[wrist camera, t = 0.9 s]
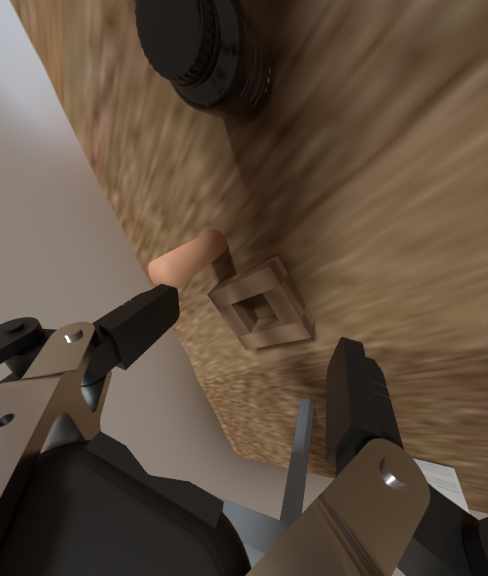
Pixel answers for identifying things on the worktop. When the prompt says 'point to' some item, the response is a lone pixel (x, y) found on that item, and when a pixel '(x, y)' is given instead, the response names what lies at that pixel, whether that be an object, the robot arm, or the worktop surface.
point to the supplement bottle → (208, 54)
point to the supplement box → (443, 481)
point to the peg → (187, 259)
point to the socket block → (280, 295)
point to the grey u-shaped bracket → (266, 530)
